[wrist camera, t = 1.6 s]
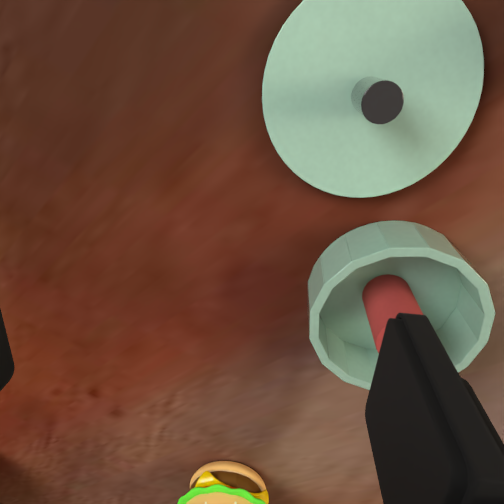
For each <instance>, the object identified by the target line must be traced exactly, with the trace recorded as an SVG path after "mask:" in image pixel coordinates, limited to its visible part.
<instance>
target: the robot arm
mask: <svg viewBox="0 0 504 504" xmlns="http://www.w3.org/2000/svg"><path fill="white" fill-rule="evenodd" d="M13 373H14V362H13V358H12V354H11V350H10V346H9V342H8V338H7V334H6V330H5V326H4V322H3V318H2V314H1V309H0V391H1V390H2V389H3V387H4V386H5V385H6V384H7V383H8V382H9V381H10V379H11V377H12V375H13ZM365 417H366V424H367V429H368V433H369V438H370V443H371V447H372V452H373V457H374V461H375V466H376V471H377V475H378V480H379V485H380V489H381V494H382V499H383V503H384V504H504V444H503V442H502V440H501V439H500V437H499V435H498V433H497V432H496V430H495V428H494V426H493V424H492V423H491V421H490V419H489V417H488V416H487V414H486V412H485V410H484V409H483V407H482V405H481V403H480V401H479V400H478V398H477V396H476V394H475V393H474V391H473V389H472V387H471V386H470V385H469V383H468V382H467V381H466V380H464V379H463V378H461V377H460V376H459V374H458V372H457V370H456V368H455V366H454V365H453V363H452V361H451V359H450V357H449V356H448V354H447V352H446V350H445V348H444V346H443V345H442V343H441V341H440V339H439V337H438V335H437V334H436V332H435V330H434V328H433V326H432V325H431V323H430V321H429V319H428V318H427V316H426V315H420V314H410V313H398V314H397V316H396V318H389V319H388V321H387V324H386V328H385V332H384V336H383V340H382V344H381V347H380V351H379V355H378V359H377V363H376V367H375V371H374V375H373V379H372V383H371V387H370V391H369V395H368V399H367V403H366V409H365Z"/></svg>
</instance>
